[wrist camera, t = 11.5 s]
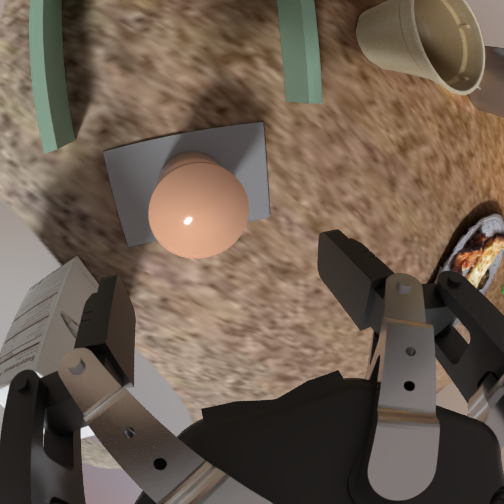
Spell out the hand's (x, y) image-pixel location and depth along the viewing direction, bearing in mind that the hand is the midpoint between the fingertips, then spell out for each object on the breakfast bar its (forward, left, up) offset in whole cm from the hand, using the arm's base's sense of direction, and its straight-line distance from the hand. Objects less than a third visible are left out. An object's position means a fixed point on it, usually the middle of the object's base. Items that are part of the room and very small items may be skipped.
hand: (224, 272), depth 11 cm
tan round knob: (0, 0, -12) cm, 12 cm away
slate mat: (0, 0, -12) cm, 12 cm away
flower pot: (-18, -12, -13) cm, 25 cm away
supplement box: (+13, +8, -13) cm, 20 cm away
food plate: (-41, +21, -13) cm, 48 cm away
